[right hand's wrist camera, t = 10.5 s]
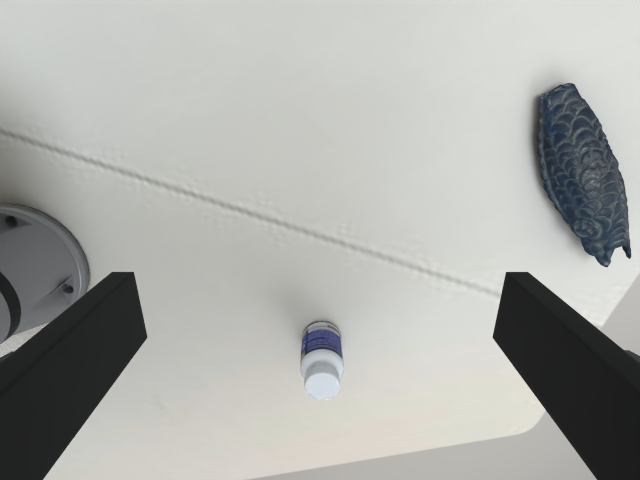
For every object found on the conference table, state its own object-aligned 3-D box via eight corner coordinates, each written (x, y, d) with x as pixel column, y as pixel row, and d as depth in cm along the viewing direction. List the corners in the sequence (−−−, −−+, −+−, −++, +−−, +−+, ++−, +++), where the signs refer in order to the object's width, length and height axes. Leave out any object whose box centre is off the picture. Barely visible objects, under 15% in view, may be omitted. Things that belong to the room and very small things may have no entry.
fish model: (565, 266, 44) (594, 285, 39) (511, 107, 38) (539, 107, 33) (619, 242, 43) (656, 258, 38) (574, 74, 37) (612, 69, 32)
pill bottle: (297, 325, 47) (293, 372, 39) (336, 317, 47) (339, 363, 39) (308, 357, 49) (305, 408, 41) (345, 349, 49) (350, 399, 40)
